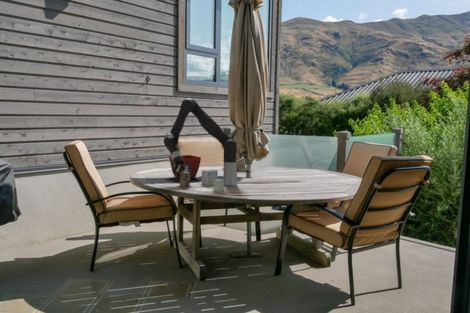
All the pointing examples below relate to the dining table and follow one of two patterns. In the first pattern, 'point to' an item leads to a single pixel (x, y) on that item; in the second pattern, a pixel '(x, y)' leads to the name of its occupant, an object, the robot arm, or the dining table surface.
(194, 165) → the plant pot
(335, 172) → the dining table surface
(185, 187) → the slate coaster
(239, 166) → the cookie jar
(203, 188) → the lettered tile
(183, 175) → the walnut block
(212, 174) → the light bulb box
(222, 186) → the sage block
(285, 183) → the dining table surface
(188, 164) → the robot arm
